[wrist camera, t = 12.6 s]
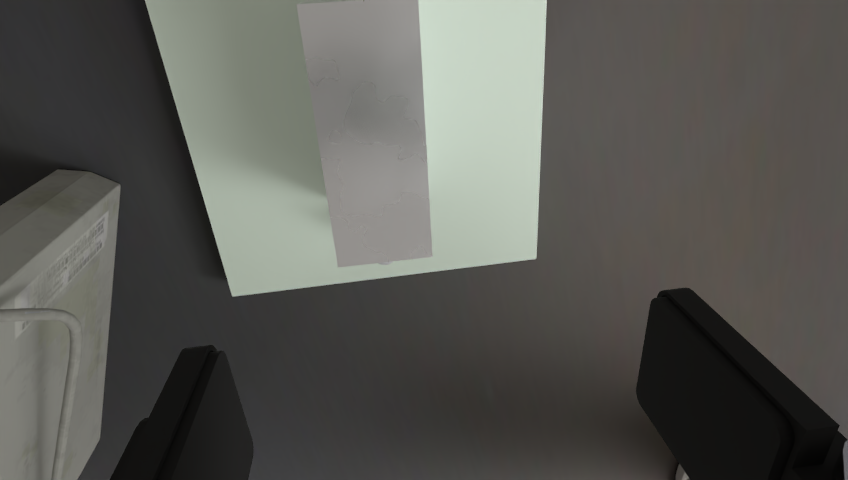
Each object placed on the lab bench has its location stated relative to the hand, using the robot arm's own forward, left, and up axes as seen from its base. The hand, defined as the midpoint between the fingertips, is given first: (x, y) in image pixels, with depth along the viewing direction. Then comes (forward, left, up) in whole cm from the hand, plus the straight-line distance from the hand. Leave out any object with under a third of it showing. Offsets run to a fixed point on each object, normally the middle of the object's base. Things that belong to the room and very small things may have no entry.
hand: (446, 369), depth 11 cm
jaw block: (+1, -2, -17) cm, 17 cm away
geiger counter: (+20, +12, -19) cm, 30 cm away
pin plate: (+1, -2, -19) cm, 19 cm away
